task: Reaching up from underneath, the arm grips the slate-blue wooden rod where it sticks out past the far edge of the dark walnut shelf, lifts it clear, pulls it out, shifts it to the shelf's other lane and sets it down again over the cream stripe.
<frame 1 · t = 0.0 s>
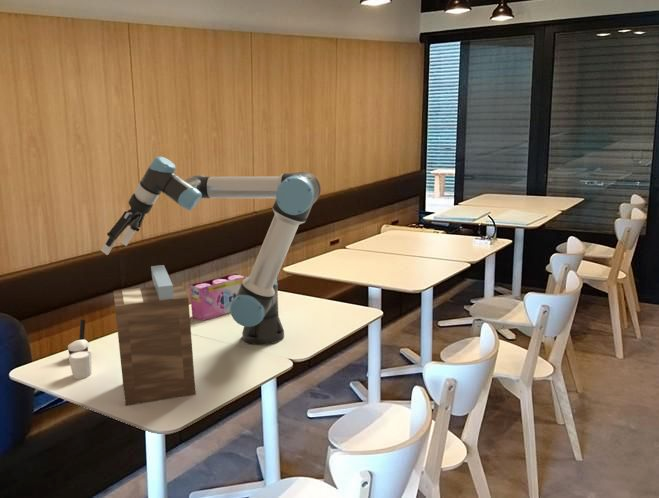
hand: (114, 248, 225), 36 cm above the table, tool tilted 35°, fingers open, 13 cm apart
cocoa: (80, 358, 224), on the table
shot glass: (82, 375, 210), on the table
gum box: (220, 312, 268), on the table
rod: (162, 288, 197), point 30 cm above the table, touching shelf
shelf: (158, 388, 198), on the table
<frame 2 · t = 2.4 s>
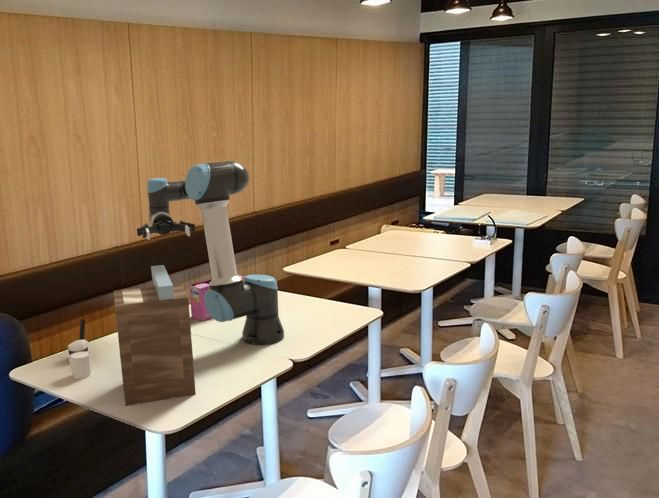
hand: (169, 234, 226), 40 cm above the table, tool horizontal, fingers open, 13 cm apart
nothing on the table moved.
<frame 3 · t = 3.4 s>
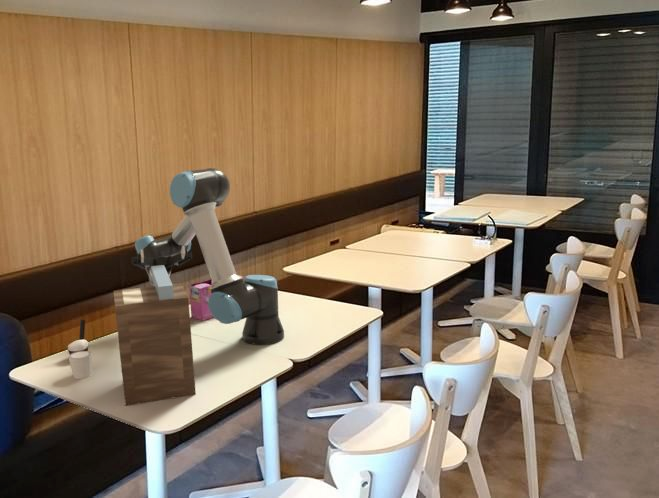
hand: (163, 251, 219), 36 cm above the table, tool pointing upward, fingers open, 13 cm apart
nothing on the table moved.
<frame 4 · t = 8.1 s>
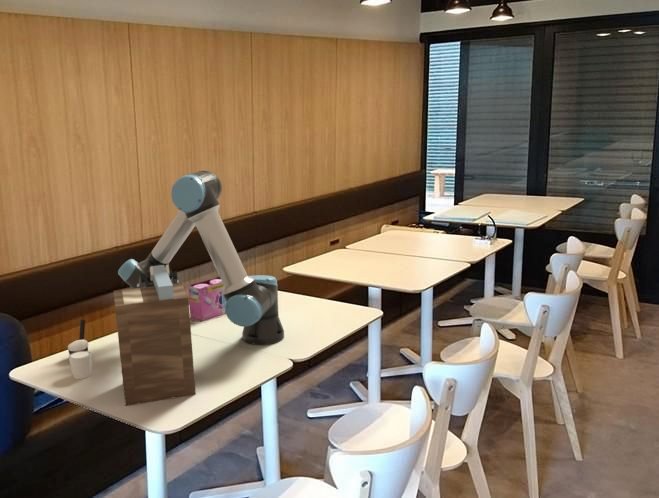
hand: (159, 270, 200), 35 cm above the table, tool pointing upward, fingers closed on rod, 4 cm apart
rod: (162, 288, 197), point 30 cm above the table, touching gripper, shelf
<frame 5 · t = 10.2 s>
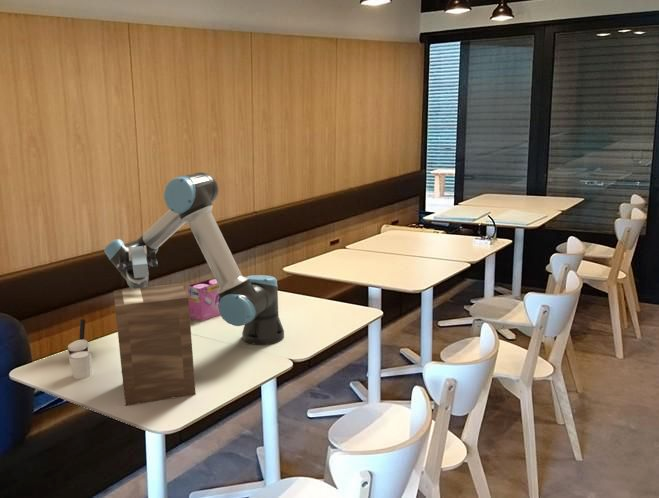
hand: (137, 250, 207), 39 cm above the table, tool pointing upward, fingers closed on rod, 4 cm apart
rod: (139, 267, 204), point 35 cm above the table, touching gripper
when the fingers open (36 cm above the table, at t = 12.7 s): rod stays where it is, resting on shelf.
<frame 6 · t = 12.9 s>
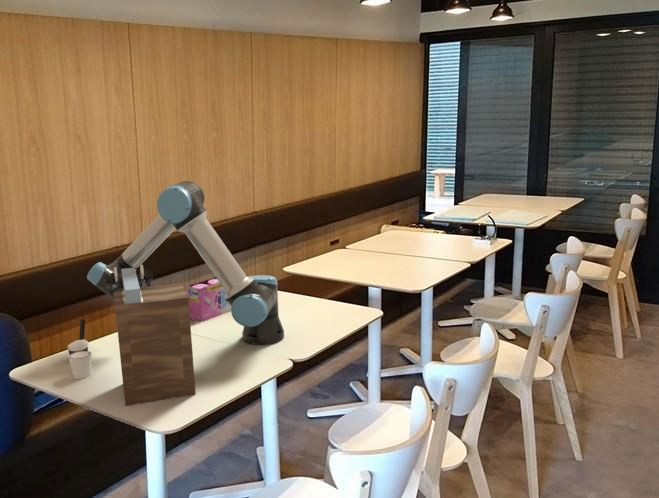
hand: (129, 270, 197), 35 cm above the table, tool pointing upward, fingers open, 7 cm apart
rod: (131, 291, 194), point 30 cm above the table, touching shelf
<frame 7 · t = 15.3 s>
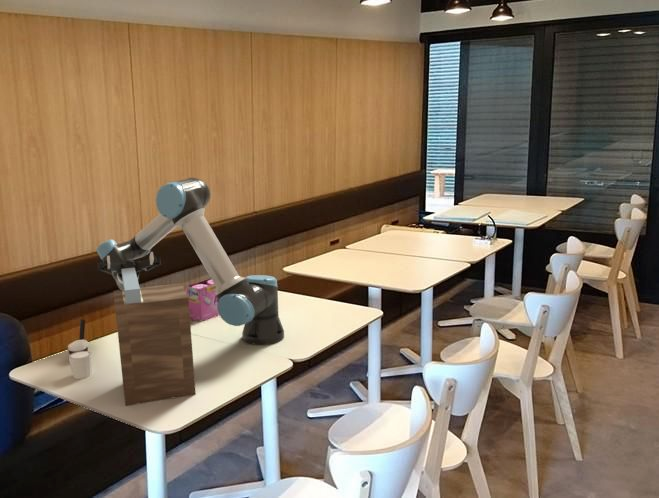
hand: (130, 257, 212), 36 cm above the table, tool pointing upward, fingers open, 13 cm apart
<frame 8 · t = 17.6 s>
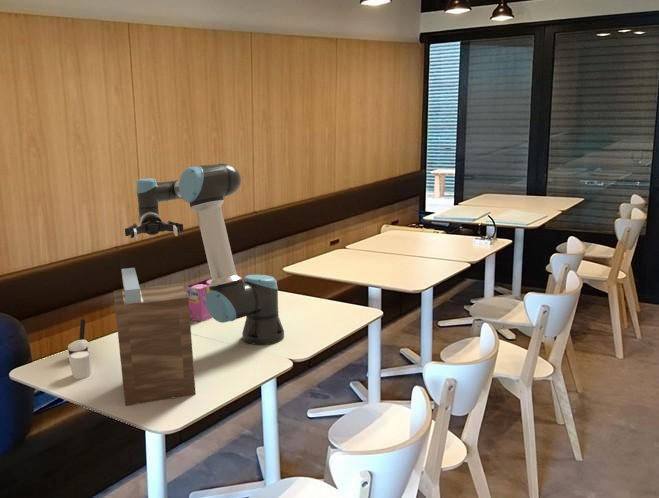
hand: (156, 234, 227), 40 cm above the table, tool horizontal, fingers open, 13 cm apart
at the end: rod inside the target area (0.6 cm from its centre), point 30.1 cm above the table; rod moved 9.0 cm from its start; the gripper is holding nothing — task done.
